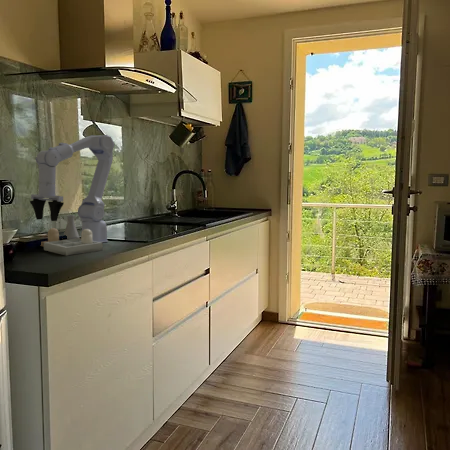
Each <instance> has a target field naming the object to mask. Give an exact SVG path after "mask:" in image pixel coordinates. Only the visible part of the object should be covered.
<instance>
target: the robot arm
mask: <svg viewBox="0 0 450 450" xmlns="http://www.w3.org/2000/svg"><path fill="white" fill-rule="evenodd" d="M115 146H116V145H115V142H114V140H113V138H112V136H110V135H109V134H103V135H102V134H101V135H98V134H97V135H96V134H91V135H88V136H85V137H83V138H80V139H79V140H78V139H77V141H74V142H72V143H70V144H69V143H67V142H58V145H56V146H54V147H52V146H51V147H48V149H47V150H40V151H39V152H38V153H37V155H36V157H35V161H36V164H37V165H38V167H37V169H38V194H36V193H34V194H33V193H32V194H30V200H29V202H30V205H31V207H32V209H33V211H34V214H35V215H34V216H35V217H36V220H43V216H44V210H45V209H44V208H45V204H46V202H47V203H48V206H49V211H50V212H49V213H50V221H51V222H56V221H58V218H59V214H60V211H61V210H62V207H63V206H64V203H65V202H64V196H63V195H56V173H57V172H56V169H57V168H56V167H57V166H58V165H59V164H60V162H63V161H65V160H68V159H70V158H72V157H73V155H74V154H75V153H77V152H79V151H81V150H84V149H85V150H86V149H88V150H90V152H91V153H92V154H93V155H94V156H95V157H96V159H97V164H96V168H95V171H94V174H93V178H92V181H91V184H90V187H89V191H88V194H87V196H86V197H85V198H84V199H82V202H81V204H80V205H79V206H78V208H77V215H78V217H79V218H80V220H81V232H82V231H83V230H84V229H90V230H91V231H92V239H93V241H96V242H101V243H108V242H109V240H108V230H107V229H108V228H107V227H108V226H107V222H106V221H105V220H102V219H103V218H104V216H105V206H106V203H105V202H104V201H103V200H102V198H103V195H104V192H105V188H106V185H107V182H108V181H107V180H108V177H109V174H110V171H111V167H112V164H113V159H114V157H113V156H114V152H113V151H114V148H115Z"/></svg>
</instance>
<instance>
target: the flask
mask: <svg viewBox="0 0 450 450" xmlns="http://www.w3.org/2000/svg"><path fill="white" fill-rule="evenodd" d="M66 217H67V221H66V227H65V230H64V233H63V235H66V236H67V239H66V240H69V239H77V238H81V236H80V234H79V232H78V229H77V226H76V224H75V215H74V214H67V215H66Z"/></svg>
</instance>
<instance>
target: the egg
mask: <svg viewBox="0 0 450 450" xmlns="http://www.w3.org/2000/svg"><path fill="white" fill-rule="evenodd" d="M47 241H48V242H52V241H60V233H59V230H58V229H57V228H54V227H52V228H50V229H48V231H47Z"/></svg>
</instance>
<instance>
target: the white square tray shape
mask: <svg viewBox="0 0 450 450" xmlns="http://www.w3.org/2000/svg"><path fill="white" fill-rule="evenodd" d="M43 242H44V247H43V250H44V251H46V252H47V251H48V252H50V253H54V254H58V255H62V256H66V257H67V256H74V255H79V254H86V253H93V252H100V251H103V243H104V242H102V243H101V242H96V241H93V239H92V231H91V230H90V229H84V230H83V231H82V230H81V234H80V238H77V239H62V240H59V241H52V242H45V241H43Z"/></svg>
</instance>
